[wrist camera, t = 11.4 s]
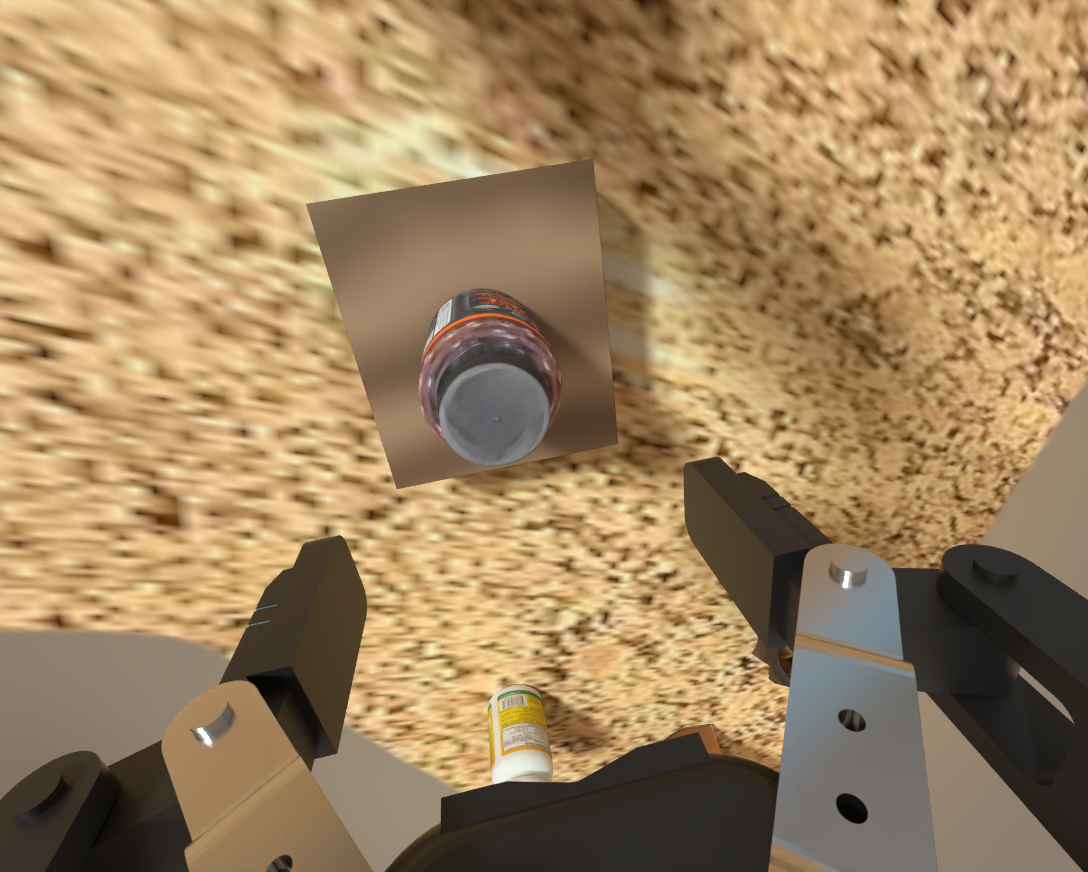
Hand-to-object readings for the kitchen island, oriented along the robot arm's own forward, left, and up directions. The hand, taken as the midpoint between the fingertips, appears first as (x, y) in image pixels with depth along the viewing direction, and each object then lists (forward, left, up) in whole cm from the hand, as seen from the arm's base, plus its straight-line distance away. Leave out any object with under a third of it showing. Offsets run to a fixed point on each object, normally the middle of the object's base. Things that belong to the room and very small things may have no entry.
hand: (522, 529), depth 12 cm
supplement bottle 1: (0, 0, -18) cm, 18 cm away
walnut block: (0, 0, -24) cm, 24 cm away
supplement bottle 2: (+37, -4, -24) cm, 44 cm away
